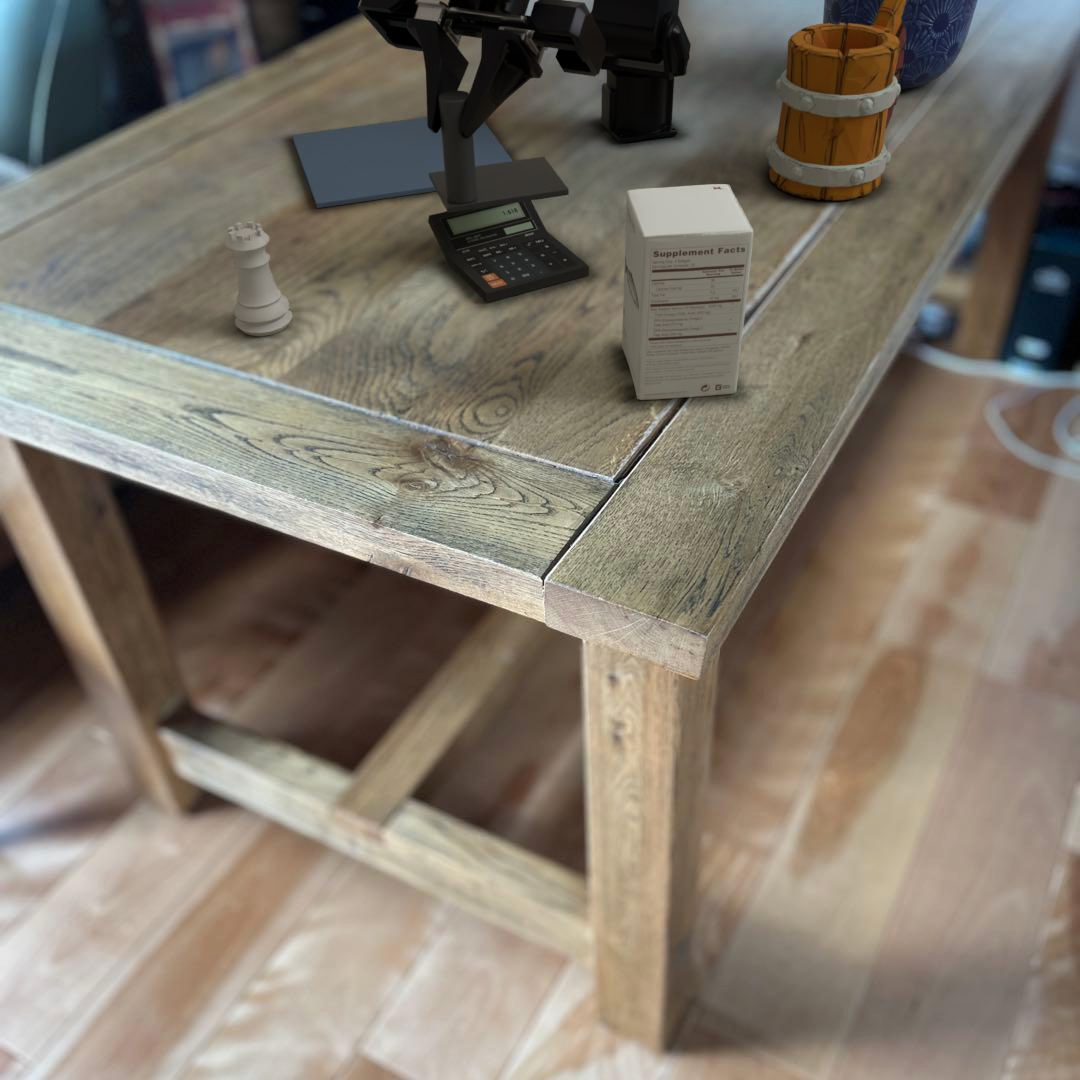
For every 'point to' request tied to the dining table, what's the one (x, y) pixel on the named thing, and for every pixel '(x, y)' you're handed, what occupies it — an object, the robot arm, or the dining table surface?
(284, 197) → the dining table surface
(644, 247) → the white packaging box
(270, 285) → the rook chess piece
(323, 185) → the felt mat
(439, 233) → the calculator
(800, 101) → the mug
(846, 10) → the planter
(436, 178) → the peg stand
